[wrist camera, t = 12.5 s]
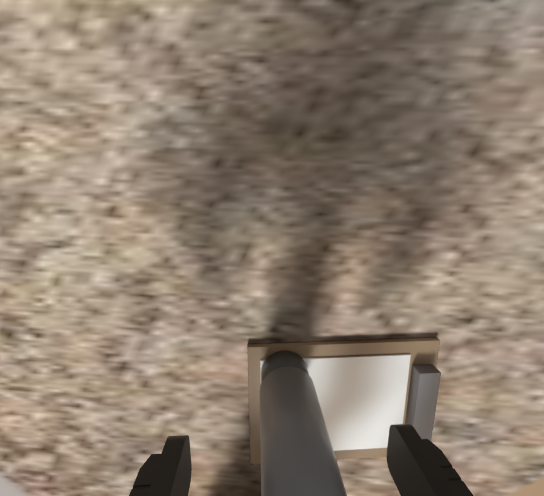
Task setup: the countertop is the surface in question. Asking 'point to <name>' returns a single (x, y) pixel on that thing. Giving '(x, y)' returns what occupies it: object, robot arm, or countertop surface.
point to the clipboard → (359, 390)
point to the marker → (294, 433)
